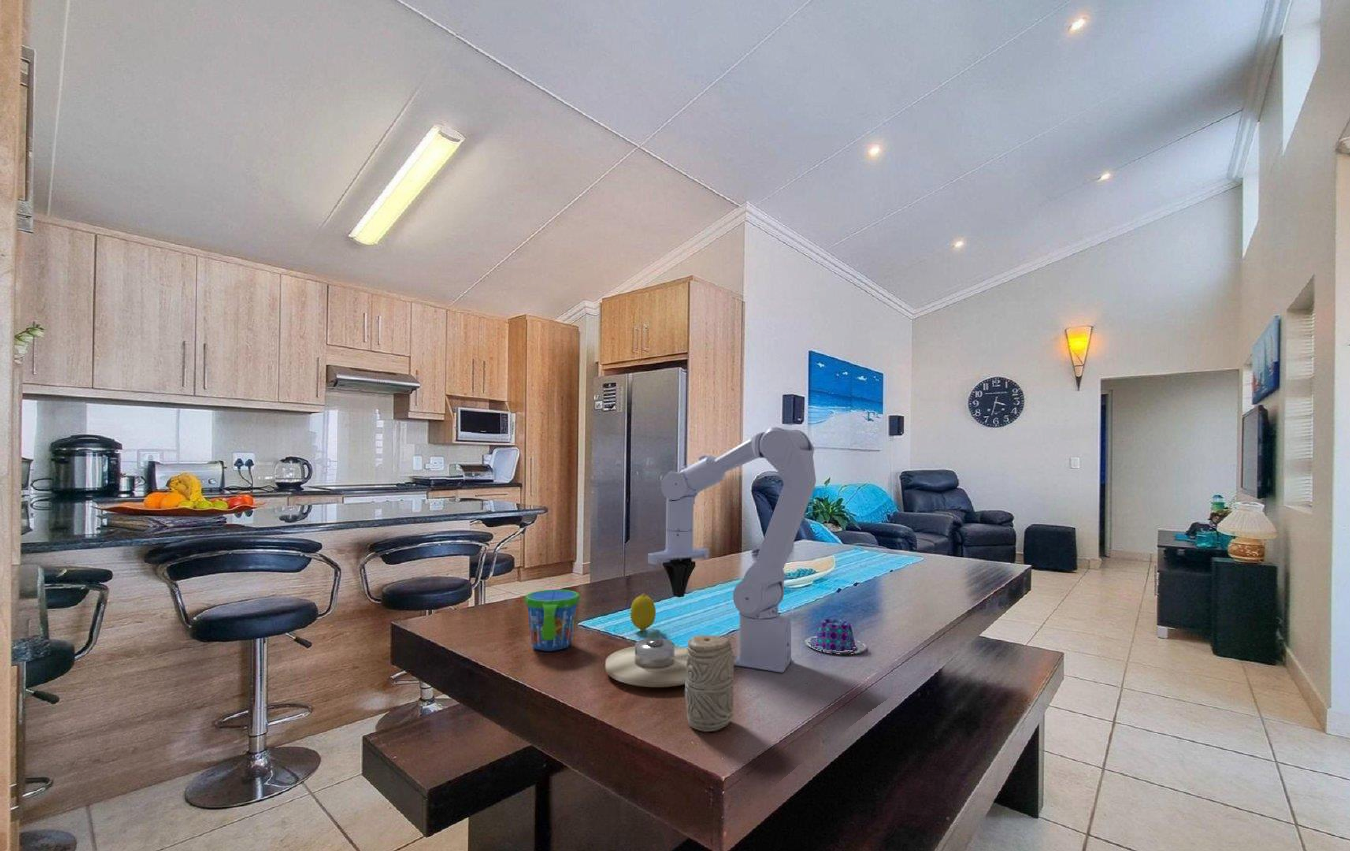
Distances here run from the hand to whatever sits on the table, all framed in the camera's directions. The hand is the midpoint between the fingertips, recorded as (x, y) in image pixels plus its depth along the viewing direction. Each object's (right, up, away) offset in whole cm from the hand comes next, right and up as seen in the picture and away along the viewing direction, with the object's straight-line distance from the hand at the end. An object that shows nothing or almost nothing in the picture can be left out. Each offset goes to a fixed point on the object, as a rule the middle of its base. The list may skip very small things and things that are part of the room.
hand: (678, 596), depth 118 cm
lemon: (-8, -10, +7) cm, 14 cm away
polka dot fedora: (+32, -10, -1) cm, 34 cm away
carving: (+4, -7, -37) cm, 38 cm away
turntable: (-4, -8, -17) cm, 20 cm away
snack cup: (-25, -9, -4) cm, 27 cm away
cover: (-4, -6, -18) cm, 19 cm away
